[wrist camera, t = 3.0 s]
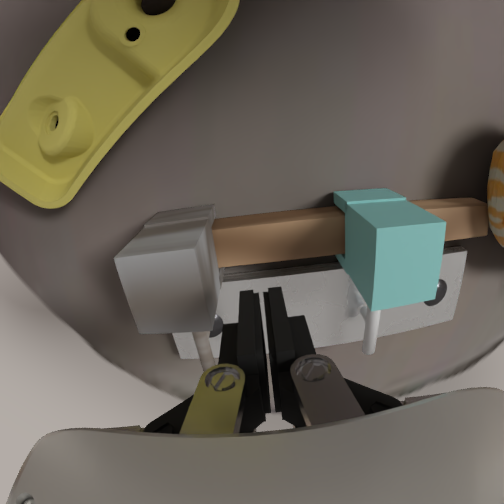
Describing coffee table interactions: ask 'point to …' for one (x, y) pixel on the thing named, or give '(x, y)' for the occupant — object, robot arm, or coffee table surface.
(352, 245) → the block
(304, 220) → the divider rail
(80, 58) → the plastic component
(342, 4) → the coffee table surface
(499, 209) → the nautilus
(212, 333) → the bolt plate
